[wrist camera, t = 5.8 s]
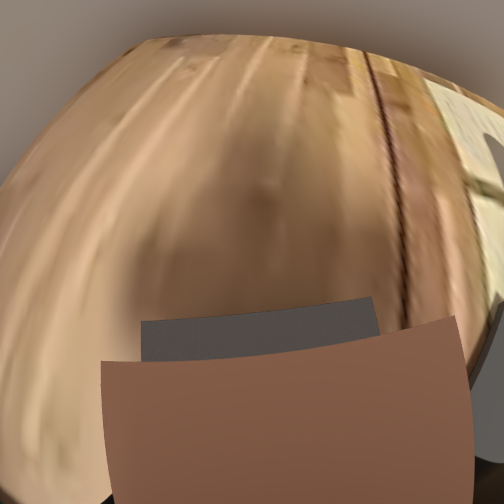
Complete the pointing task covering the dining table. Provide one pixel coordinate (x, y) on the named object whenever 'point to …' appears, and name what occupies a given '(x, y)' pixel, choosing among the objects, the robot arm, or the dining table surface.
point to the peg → (296, 425)
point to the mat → (489, 394)
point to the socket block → (258, 332)
